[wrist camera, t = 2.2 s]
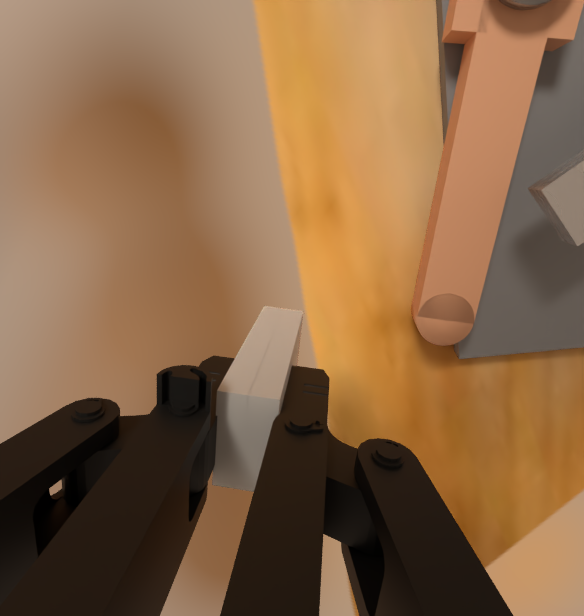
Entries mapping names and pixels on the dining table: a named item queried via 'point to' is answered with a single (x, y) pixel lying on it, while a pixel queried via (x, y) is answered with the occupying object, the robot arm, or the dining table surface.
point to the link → (480, 152)
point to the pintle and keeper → (559, 178)
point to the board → (530, 216)
